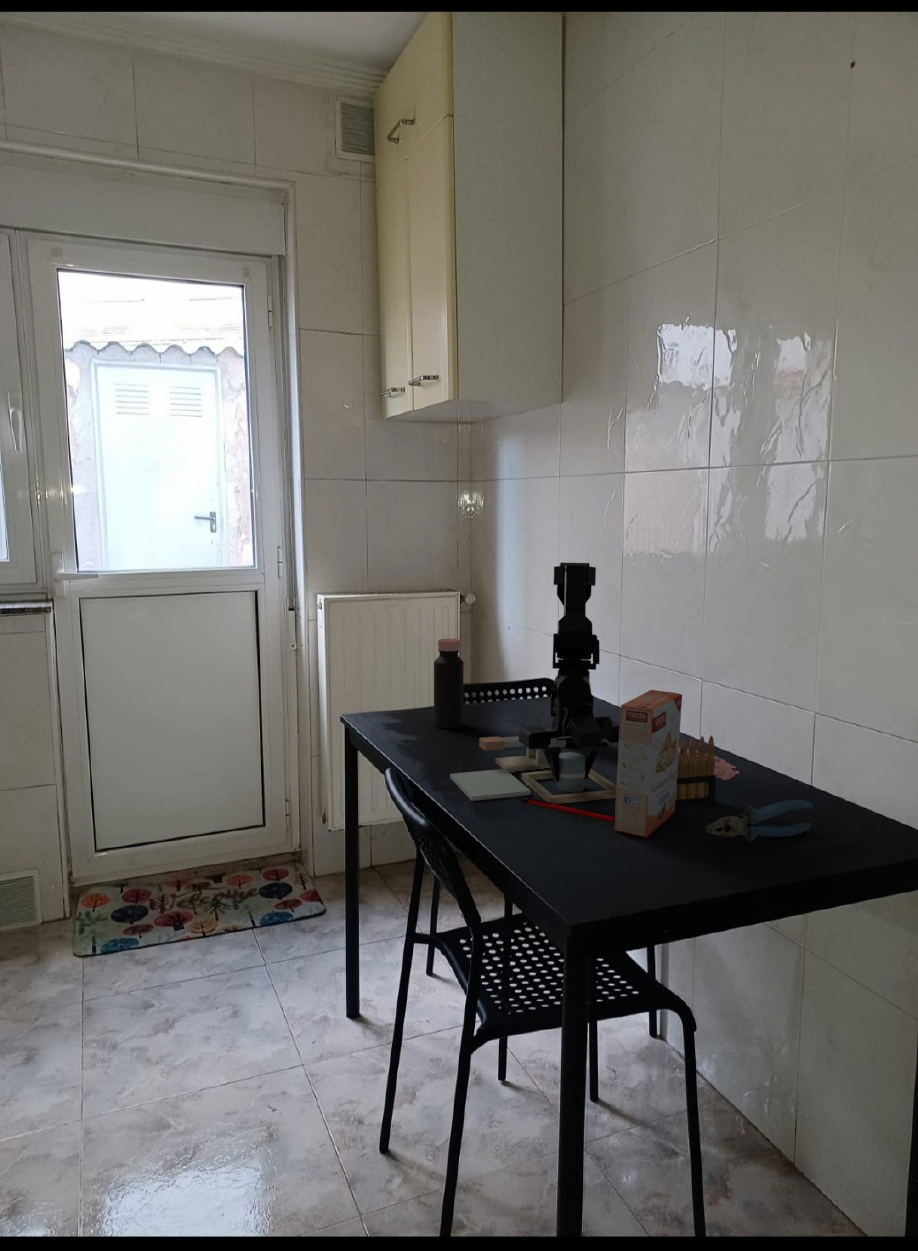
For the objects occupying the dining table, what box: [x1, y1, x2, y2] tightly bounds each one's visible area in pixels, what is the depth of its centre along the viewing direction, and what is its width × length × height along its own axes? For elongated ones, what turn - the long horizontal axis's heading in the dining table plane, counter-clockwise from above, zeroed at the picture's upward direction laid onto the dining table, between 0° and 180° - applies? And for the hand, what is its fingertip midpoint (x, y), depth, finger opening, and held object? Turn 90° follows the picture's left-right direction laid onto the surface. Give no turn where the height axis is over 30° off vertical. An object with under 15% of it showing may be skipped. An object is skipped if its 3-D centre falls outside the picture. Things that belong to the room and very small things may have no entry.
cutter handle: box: [478, 728, 567, 751], centre depth 173 cm, size 17×3×3 cm, turn 107°
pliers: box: [704, 799, 813, 842], centre depth 137 cm, size 20×2×6 cm, turn 112°
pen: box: [520, 797, 615, 822], centre depth 149 cm, size 1×19×1 cm, turn 58°
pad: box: [449, 768, 531, 802], centre depth 161 cm, size 11×13×1 cm
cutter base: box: [494, 747, 550, 773], centre depth 174 cm, size 12×7×6 cm, turn 107°
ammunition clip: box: [675, 735, 717, 808], centre depth 152 cm, size 11×2×12 cm, turn 106°
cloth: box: [678, 746, 740, 781], centre depth 177 cm, size 20×22×2 cm
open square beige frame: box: [520, 768, 617, 805], centre depth 161 cm, size 14×14×1 cm
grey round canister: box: [556, 751, 586, 794], centre depth 160 cm, size 5×5×6 cm
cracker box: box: [614, 689, 683, 839], centre depth 143 cm, size 14×6×21 cm, turn 148°
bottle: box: [433, 638, 465, 730], centre depth 202 cm, size 7×7×20 cm
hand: (570, 780), depth 161 cm, fingers closed on grey round canister, 5 cm apart
